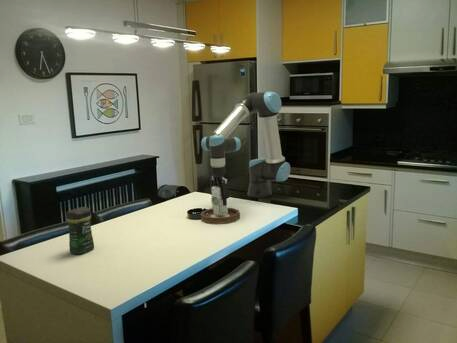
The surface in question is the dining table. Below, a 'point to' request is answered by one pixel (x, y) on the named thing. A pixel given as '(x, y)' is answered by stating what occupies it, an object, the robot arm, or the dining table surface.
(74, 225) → the coffee jar
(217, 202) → the syrup box
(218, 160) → the robot arm
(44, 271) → the dining table surface
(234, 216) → the round tray
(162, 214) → the dining table surface
